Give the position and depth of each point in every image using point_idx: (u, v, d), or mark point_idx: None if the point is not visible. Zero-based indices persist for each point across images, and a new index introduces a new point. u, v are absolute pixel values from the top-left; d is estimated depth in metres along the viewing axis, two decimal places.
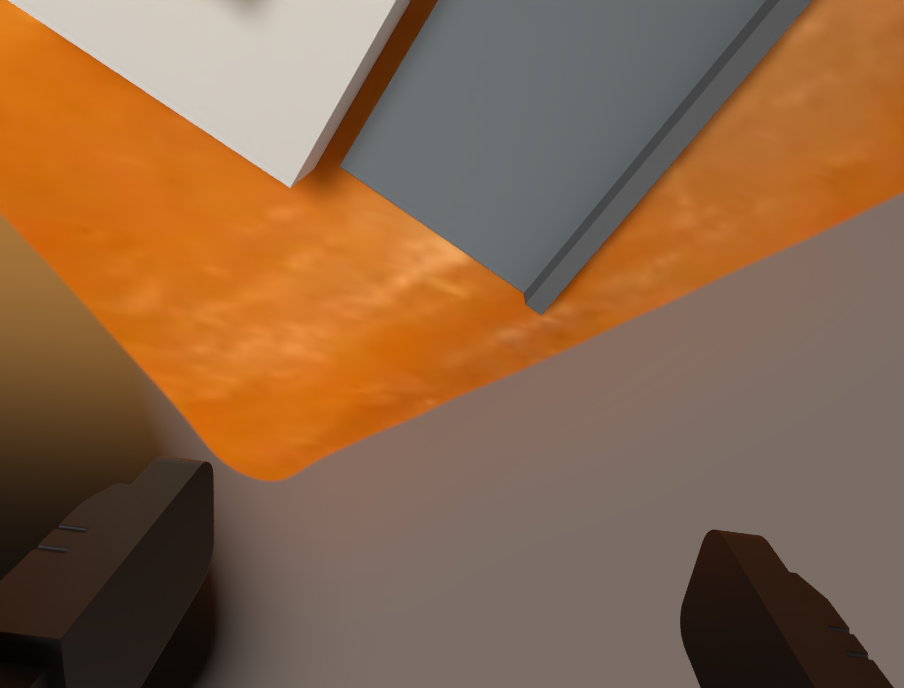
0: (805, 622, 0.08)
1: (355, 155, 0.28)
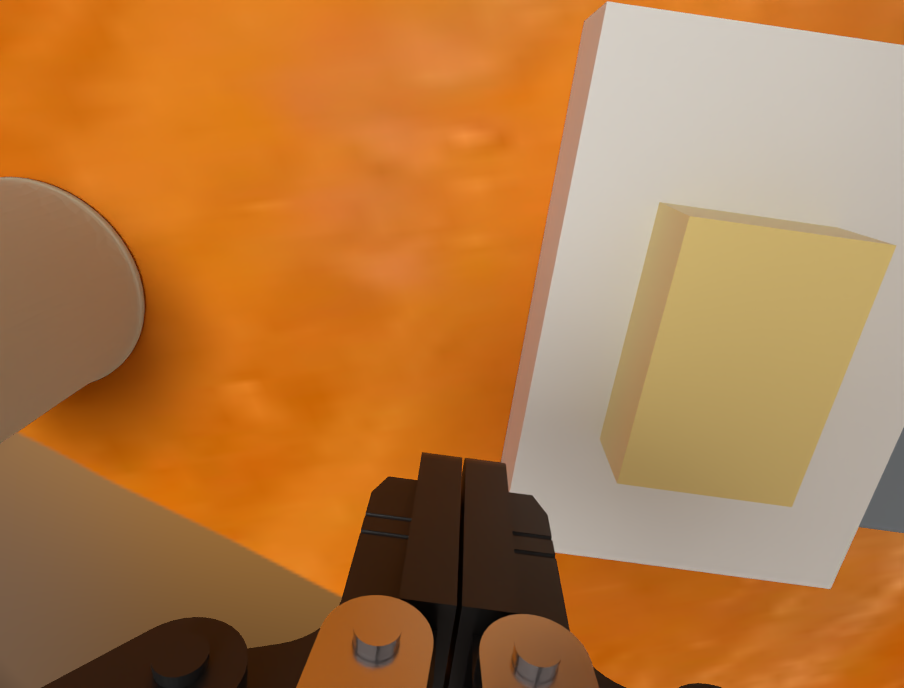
0: (493, 524, 0.09)
1: None
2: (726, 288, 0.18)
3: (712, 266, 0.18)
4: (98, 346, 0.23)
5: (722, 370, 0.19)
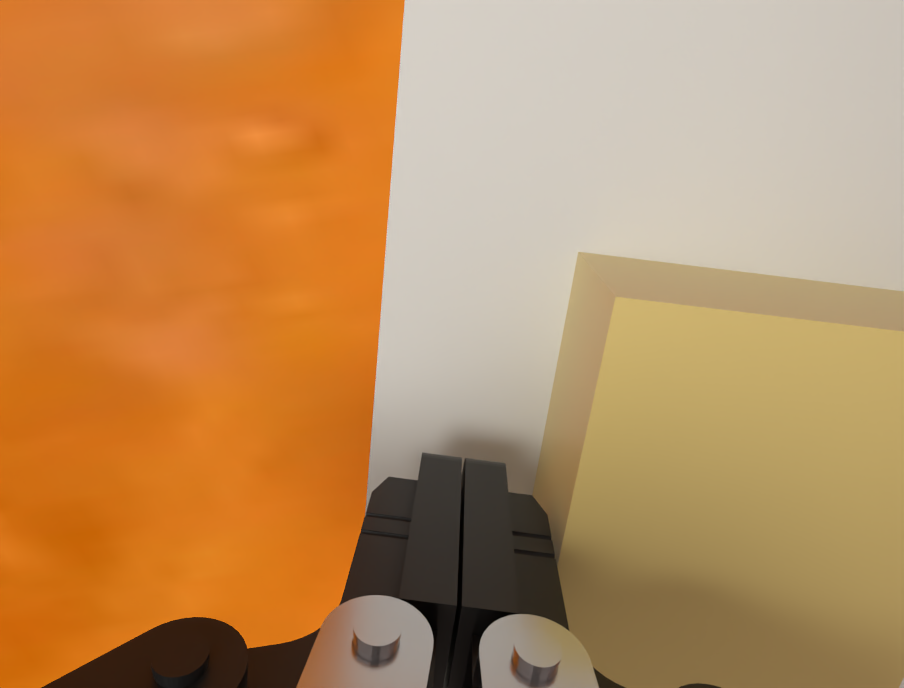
0: (492, 524, 0.09)
1: None
2: (702, 440, 0.09)
3: (669, 398, 0.08)
4: None
5: (699, 588, 0.09)
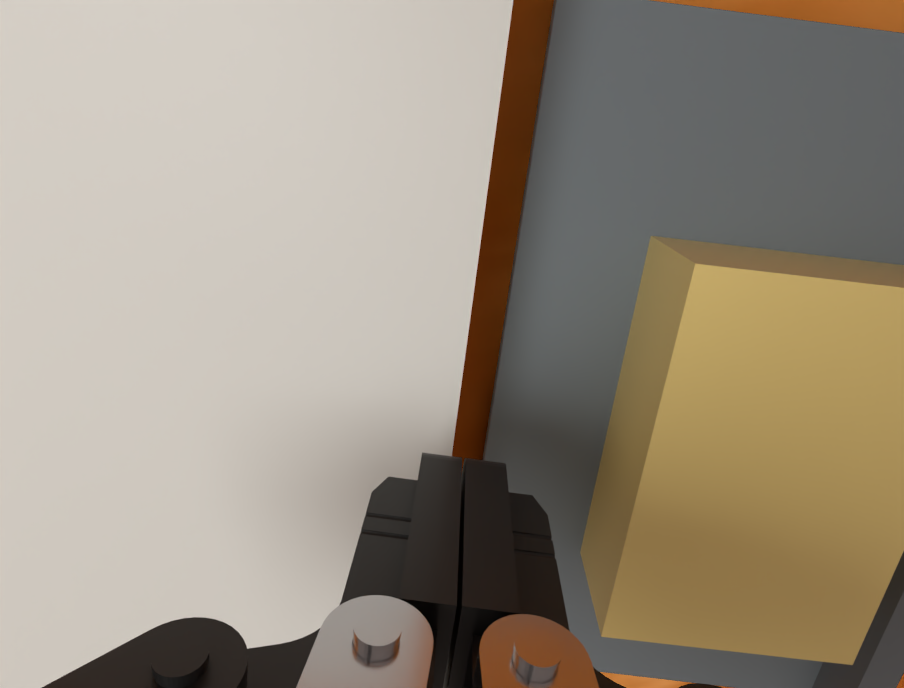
0: (493, 524, 0.09)
1: None
2: None
3: None
4: None
5: None
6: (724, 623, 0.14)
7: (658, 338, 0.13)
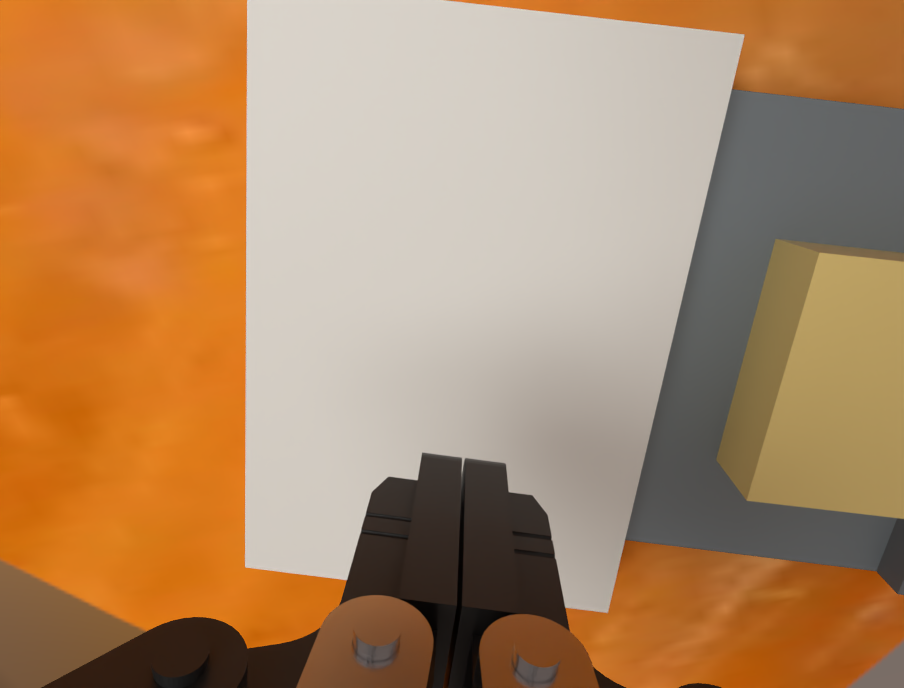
0: (493, 524, 0.09)
1: (632, 523, 0.26)
2: None
3: None
4: None
5: None
6: (829, 490, 0.21)
7: (789, 301, 0.20)
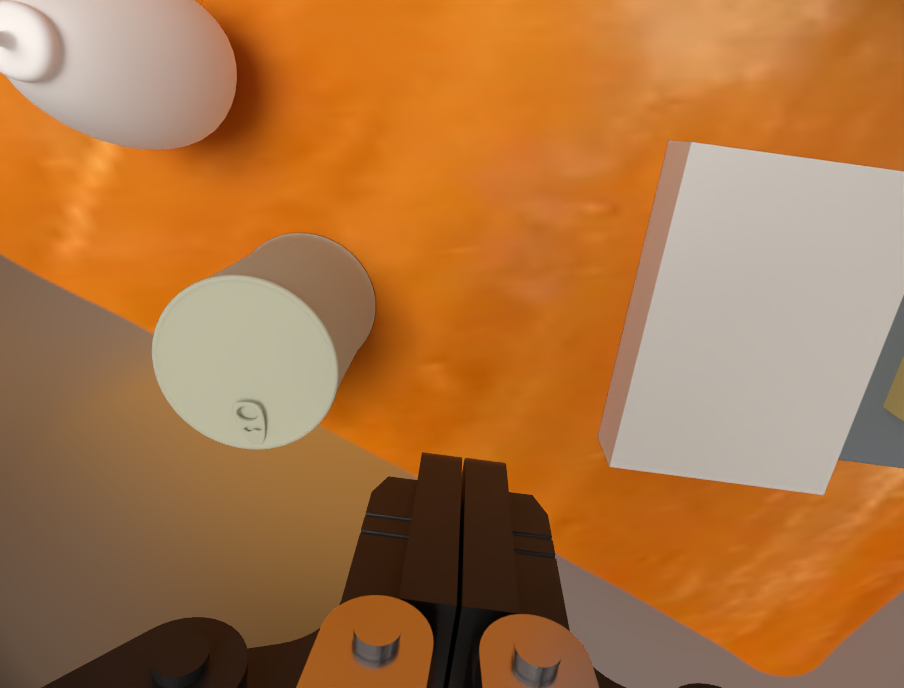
0: (493, 524, 0.09)
1: None
2: None
3: None
4: (362, 339, 0.37)
5: None
6: None
7: None
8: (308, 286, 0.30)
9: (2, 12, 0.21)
